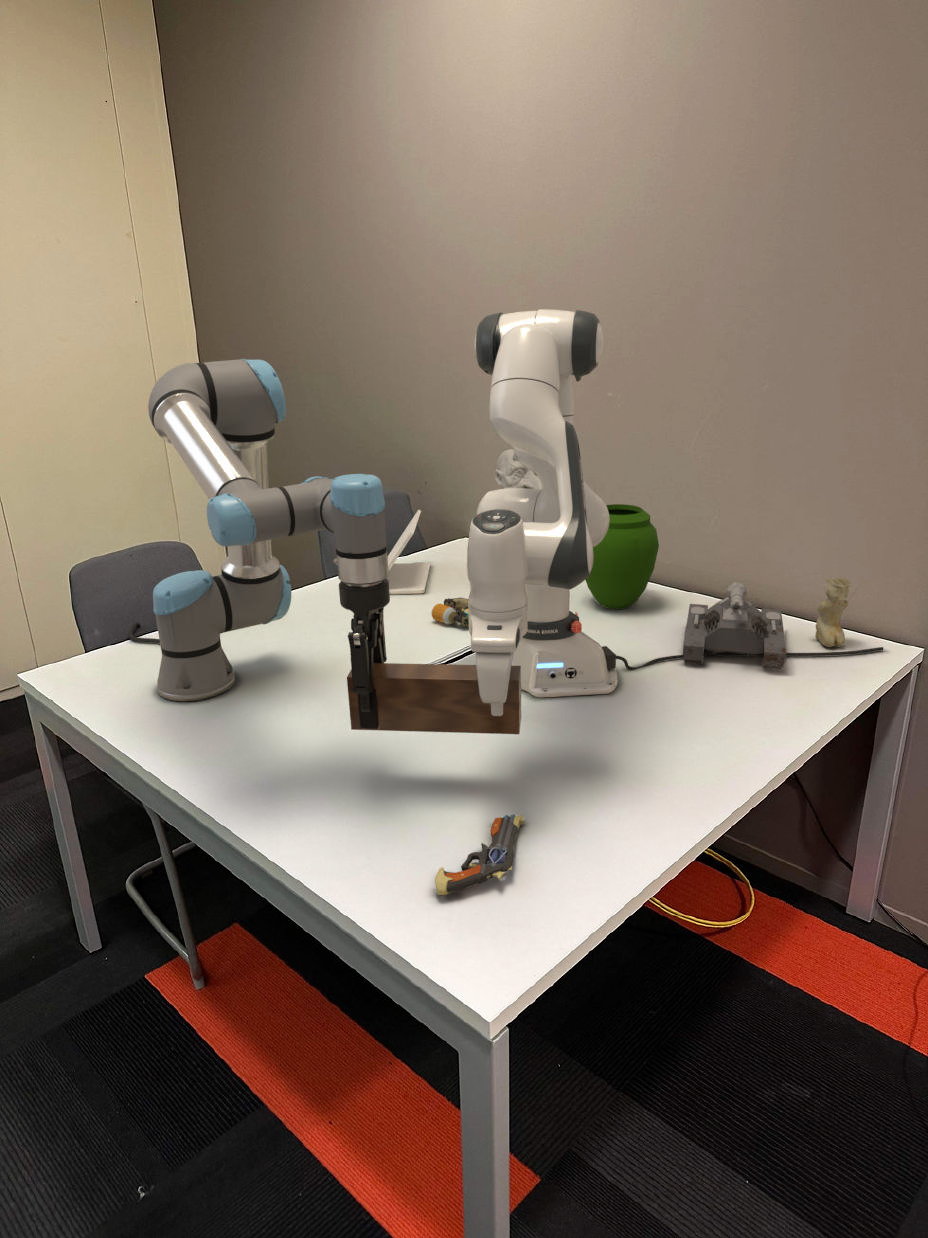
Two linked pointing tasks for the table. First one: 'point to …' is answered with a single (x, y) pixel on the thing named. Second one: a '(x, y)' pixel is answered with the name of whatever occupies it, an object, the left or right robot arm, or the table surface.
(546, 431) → the right robot arm
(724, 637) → the toy
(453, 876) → the toy gun
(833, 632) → the sculpture
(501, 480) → the bust sculpture
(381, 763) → the table surface
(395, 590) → the tablet stand
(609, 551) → the vase
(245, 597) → the left robot arm
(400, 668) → the bar
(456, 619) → the spray gun
